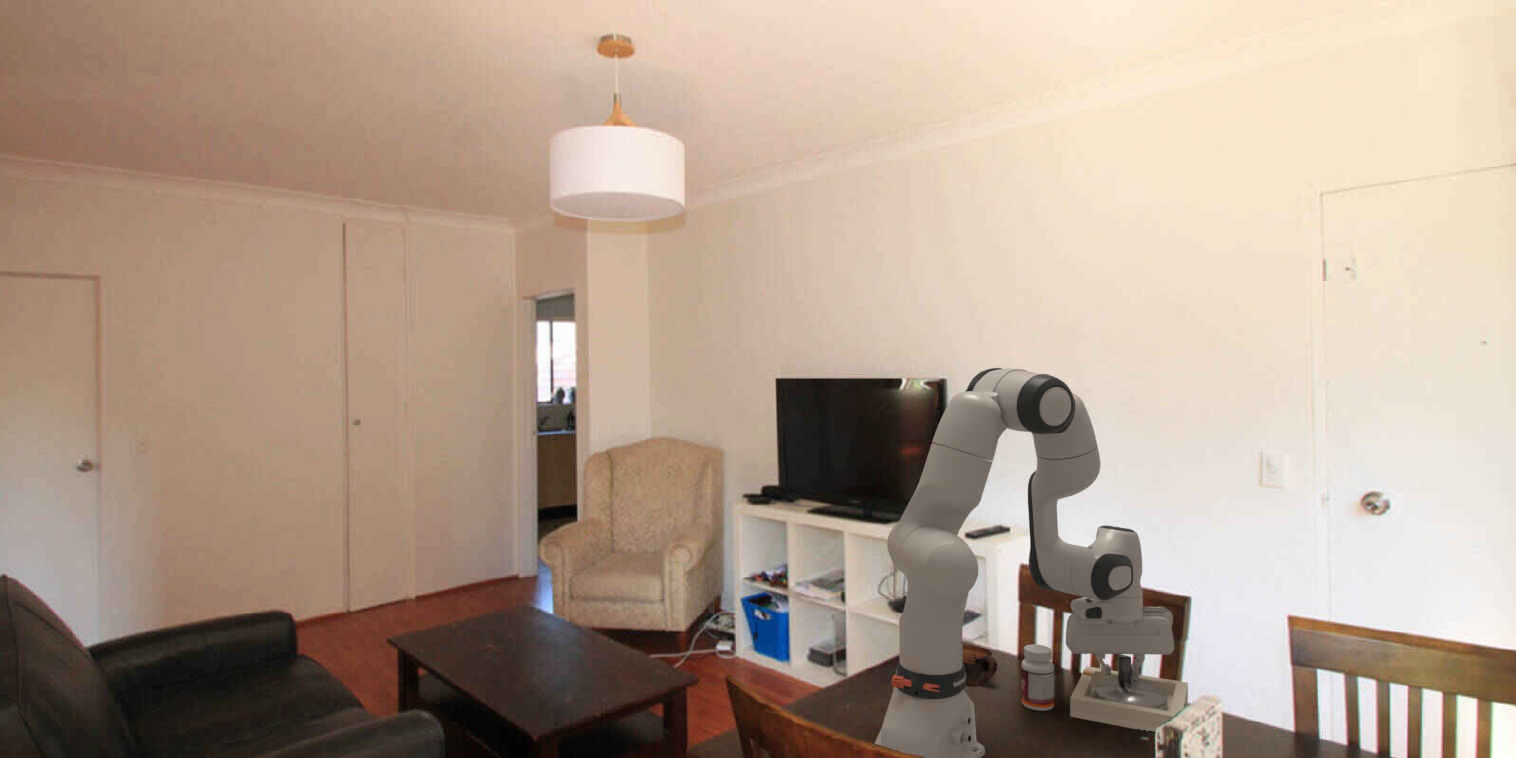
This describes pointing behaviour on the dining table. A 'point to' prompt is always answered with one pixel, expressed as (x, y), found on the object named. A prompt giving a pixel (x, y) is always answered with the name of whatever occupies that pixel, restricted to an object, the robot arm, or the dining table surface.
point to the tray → (1121, 713)
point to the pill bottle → (1037, 678)
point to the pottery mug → (978, 664)
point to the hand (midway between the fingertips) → (1119, 674)
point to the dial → (1130, 689)
